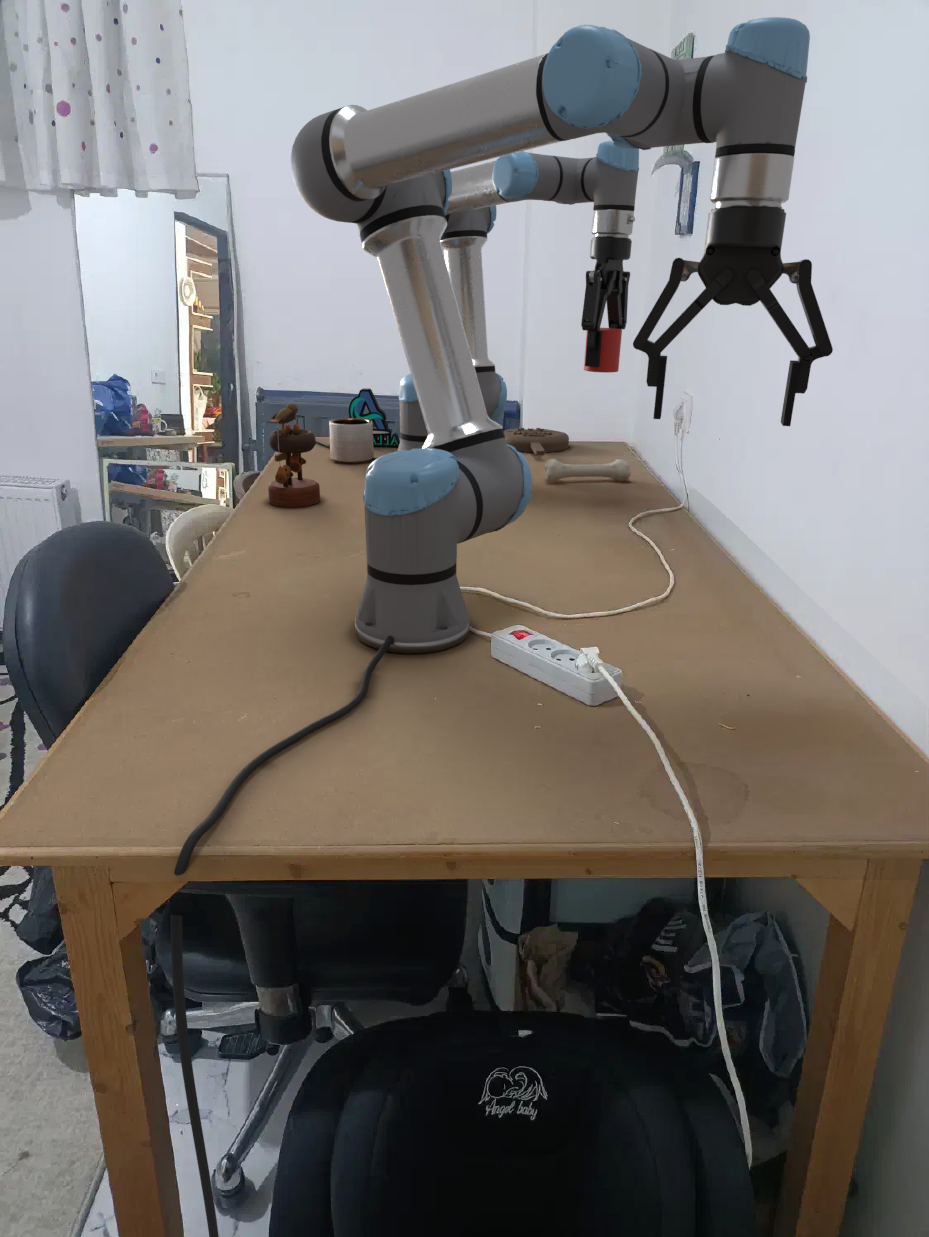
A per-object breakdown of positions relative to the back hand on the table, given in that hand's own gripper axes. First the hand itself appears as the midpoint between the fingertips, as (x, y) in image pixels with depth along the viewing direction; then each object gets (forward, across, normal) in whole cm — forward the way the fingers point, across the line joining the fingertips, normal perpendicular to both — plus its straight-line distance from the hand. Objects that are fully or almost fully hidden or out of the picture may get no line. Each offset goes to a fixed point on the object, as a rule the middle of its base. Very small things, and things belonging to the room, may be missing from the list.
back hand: (601, 365), depth 166 cm
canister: (+1, 0, 0) cm, 1 cm away
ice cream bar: (+29, +41, +40) cm, 64 cm away
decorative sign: (+29, +17, +79) cm, 85 cm away
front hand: (-2, -62, -47) cm, 78 cm away
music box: (+29, -37, +49) cm, 68 cm away
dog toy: (+28, +18, +11) cm, 36 cm away
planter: (+29, 0, +68) cm, 74 cm away
